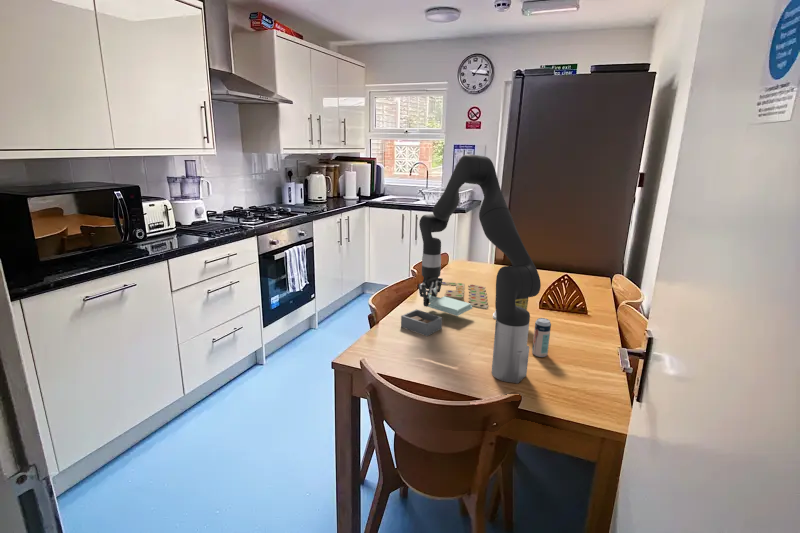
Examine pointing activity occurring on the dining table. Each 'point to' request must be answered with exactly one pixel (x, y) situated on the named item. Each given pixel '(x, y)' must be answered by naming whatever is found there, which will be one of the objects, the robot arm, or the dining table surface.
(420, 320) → the walnut block
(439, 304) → the lid
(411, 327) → the tub
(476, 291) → the pile of dominoes
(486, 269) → the dining table surface
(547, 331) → the beer can
